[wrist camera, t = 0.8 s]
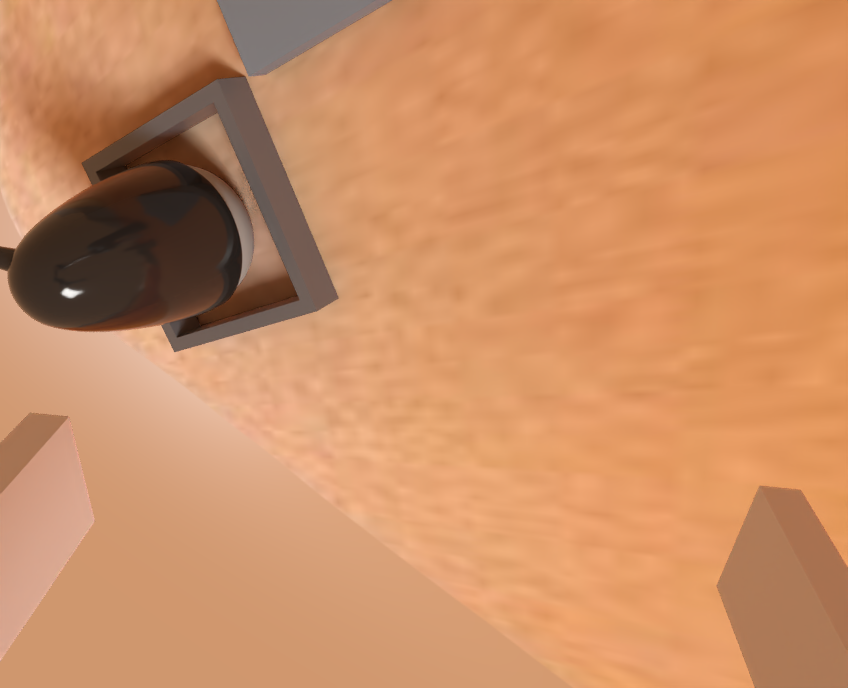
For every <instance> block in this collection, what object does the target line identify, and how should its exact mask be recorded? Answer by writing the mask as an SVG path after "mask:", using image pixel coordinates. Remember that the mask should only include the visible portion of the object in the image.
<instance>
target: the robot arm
mask: <svg viewBox="0 0 848 688" xmlns="http://www.w3.org/2000/svg"><path fill="white" fill-rule="evenodd" d="M94 521H95V520H94V516H93V512H92V508H91V504H90V499H89V496H88V491H87V488H86V484H85V479H84V475H83V471H82V467H81V463H80V459H79V455H78V451H77V446H76V442H75V438H74V434H73V430H72V426H71V422H70V418H69V417H68V416H58V415H47V414H38V413H29V414H28V415H27V416H26V417H25V418H24V419H23V420H22V421H21V422H20V423H19V424H18V426H17V427H16V428H15V429H14V430H13V431H12V432H11V433H10V434H9V435H8V436H7V437H6V438H5V439H4V440H3V441H2V442H1V443H0V661H1V659H2V658H3V656H4V655H5V653H6V652H7V650H8V649H9V647H10V646H11V644H12V643H13V641H14V640H15V638H16V637H17V636H18V634H19V633H20V631H21V630H22V628H23V627H24V625H25V624H26V622H27V621H28V619H29V618H30V616H31V615H32V613H33V612H34V610H35V609H36V607H37V606H38V605H39V603H40V601H41V600H42V598H43V597H44V596H45V594H46V593H47V591H48V590H49V588H50V587H51V585H52V584H53V582H54V581H55V579H56V578H57V576H58V575H59V573H60V572H61V570H62V569H63V568H64V566H65V565H66V563H67V562H68V560H69V559H70V557H71V556H72V554H73V553H74V551H75V550H76V548H77V547H78V545H79V544H80V542H81V541H82V539H83V538H84V536H85V535H86V533H87V532H88V531H89V529H90V527H91V526H92V525H93V523H94ZM717 588H718V591H719V593H720V596H721V599H722V601H723V604H724V607H725V609H726V612H727V615H728V617H729V620H730V623H731V625H732V628H733V631H734V633H735V636H736V639H737V641H738V644H739V647H740V649H741V652H742V654H743V657H744V660H745V662H746V665H747V668H748V670H749V673H750V676H751V678H752V681H753V684H754V686H755V688H848V567H847V566H846V564H845V562H844V561H843V559H842V557H841V556H840V554H839V552H838V551H837V549H836V547H835V546H834V544H833V542H832V541H831V539H830V537H829V536H828V534H827V532H826V531H825V529H824V527H823V526H822V524H821V522H820V521H819V519H818V517H817V516H816V514H815V512H814V511H813V509H812V507H811V506H810V504H809V503H808V501H807V499H806V498H805V496H804V494H803V493H802V491H801V490H797V489H787V488H777V487H767V486H759V488H758V490H757V493H756V495H755V497H754V500H753V502H752V504H751V507H750V509H749V511H748V514H747V516H746V518H745V521H744V523H743V525H742V528H741V530H740V532H739V535H738V537H737V539H736V542H735V544H734V546H733V549H732V551H731V553H730V556H729V558H728V560H727V563H726V565H725V567H724V570H723V572H722V574H721V577H720V579H719V581H718V584H717Z"/></svg>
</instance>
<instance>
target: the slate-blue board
mask: <svg viewBox="0 0 848 688" xmlns="http://www.w3.org/2000/svg"><path fill="white" fill-rule="evenodd" d="M390 1H392V0H217V2H218V4H219V7H220V9H221V11H222V14H223V16H224V18H225V21H226V23H227V26H228V28H229V30H230V33H231V35H232V37H233V40H234V42H235V45H236V47H237V49H238V52H239V54H240V57H241V59H242V61H243V64H244V66H245V68H246V71H247V73H248V76H258V75H266V74H267V73H269V72H271V71H273V70H274V69H276V68H278V67H279V66H281V65H283V64H284V63H286V62H288V61H290V60H291V59H293V58H295V57H296V56H298V55H300V54H301V53H303V52H305V51H307V50H308V49H310V48H312V47H313V46H315V45H317V44H318V43H320V42H322V41H324V40H325V39H327V38H329V37H330V36H332V35H334V34H335V33H337V32H339V31H341V30H342V29H344V28H346V27H347V26H349V25H351V24H352V23H354V22H356V21H358V20H359V19H361V18H363V17H364V16H366V15H368V14H369V13H371V12H373V11H375V10H376V9H378V8H380V7H381V6H383V5H385V4H386V3H388V2H390Z"/></svg>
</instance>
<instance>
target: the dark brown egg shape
mask: <svg viewBox="0 0 848 688" xmlns="http://www.w3.org/2000/svg"><path fill="white" fill-rule="evenodd" d="M253 252H254V234H253V228H252V224H251V220H250V217H249V215H248V212H247V210H246V208H245V206H244V204H243V203H242V201H241V200H240V198H239V197H238V195H237V194H236V193H235V192H234V190H233V189H232V188H231V187H230V186H229V185H228V184H226V183H225V182H224V181H223V180H222V179H220V178H219V177H217V176H216V175H214V174H212V173H210V172H208V171H206V170H203V169H201V168H198V167H194V166H190V165H185V164H183V163H180V162H177V161H172V160H157V161H152V162H148V163H144V164H141V165H137V166H135V167H132V168H129V169H127V170H124V171H122V172H120V173H117V174H115V175H113V176H111V177H108V178H106V179H104V180H102V181H100V182H98V183H96V184H94V185H92V186H90V187H89V188H87V189H85V190H83V191H82V192H80V193H78V194H77V195H75V196H74V197H72V198H70V199H69V200H67V201H66V202H64V203H63V204H62V205H60V206H59V207H57V208H56V209H54V210H53V211H52V212H50V213H49V214H48V215H47V216H45V217H44V218H43V219H42V220H41V221H39V222H38V223H37V224H36V225H35V226H34V227H33V228H32V229H31V230H30V231H29V232H28V233H27V234H26V235H25V237H24V238H23V239H22V241H21V242H20V243H19V245H18V246H17V248H16V249H13V248H7V247H1V246H0V269H2V270H5V271H8V283H9V287H10V291H11V293H12V296H13V298H14V299H15V301H16V303H17V304H18V305H19V307H20V308H21V309H22V310H23V311H24V312H25V313H26V314H27V315H29V316H30V317H31V318H33V319H34V320H36V321H38V322H40V323H42V324H44V325H47V326H51V327H54V328H59V329H64V330H71V331H81V332H109V331H121V330H131V329H139V328H146V327H153V326H158V325H163V324H168V323H172V322H176V321H180V320H184V319H187V318H191V317H194V316H197V315H201V314H203V313H206V312H208V311H211V310H213V309H215V308H217V307H219V306H221V305H222V304H224V303H225V302H226V301H227V300H228V299H229V298H230V297H231V296H232V295H233V293H234V291H235V290H236V288H237V286H238V285H239V284H240V283H241V282H242V280H243V279H244V277H245V275H246V274H247V272H248V270H249V267H250V264H251V261H252V257H253Z"/></svg>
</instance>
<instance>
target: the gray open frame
mask: <svg viewBox="0 0 848 688" xmlns="http://www.w3.org/2000/svg"><path fill="white" fill-rule="evenodd" d="M217 112H218V114H219V116H220V118H221V121H222V123H223V125H224V128H225V130H226V132H227V134H228V137H229V139H230V141H231V144H232V146H233V148H234V151H235V153H236V155H237V157H238V160H239V162H240V164H241V167H242V169H243V171H244V173H245V176H246V178H247V180H248V183H249V185H250V187H251V190H252V192H253V194H254V196H255V199H256V201H257V203H258V206H259V208H260V210H261V213H262V215H263V217H264V219H265V222H266V224H267V226H268V229H269V231H270V233H271V235H272V238H273V240H274V242H275V245H276V247H277V249H278V252H279V254H280V256H281V258H282V261H283V263H284V265H285V268H286V270H287V272H288V274H289V277H290V279H291V281H292V284H293V286H294V288H295V291H296V293H297V295H298V296H295V297H291V298H288V299H285V300H282V301H279V302H275V303H272V304H269V305H266V306H263V307H260V308H256V309H253V310H250V311H247V312H244V313H240V314H237V315H234V316H231V317H228V318H224V319H221V320H218V321H215V322H212V323H208V324H205V325H202V326H200V324H199V321H198V319H197V317H196V316H194V317H191V318H187V319H184V320H180V321H176V322H172V323H168V324H163V325H161V326H162V328H163V330H164V332H165V334H166V336H167V338H168V340H169V342H170V344H171V346H172V348H173V350H174V352H177V351H180V350H184V349H187V348H191V347H194V346H198V345H201V344H205V343H208V342H212V341H215V340H219V339H222V338H225V337H229V336H232V335H236V334H239V333H243V332H246V331H250V330H253V329H257V328H260V327H264V326H267V325H270V324H274V323H277V322H281V321H284V320H288V319H291V318H295V317H298V316H302V315H305V314H309V313H312V312H315V311H318V310H320V309H321V308H323V307H325V306H326V305H328V304H330V303H331V302H333V301H335V300H337V299H338V296H337V293H336V291H335V289H334V286H333V284H332V281H331V279H330V277H329V274H328V272H327V270H326V267H325V265H324V262H323V260H322V258H321V255H320V253H319V251H318V248H317V246H316V243H315V241H314V239H313V236H312V234H311V232H310V229H309V227H308V224H307V222H306V220H305V217H304V215H303V213H302V210H301V208H300V205H299V203H298V201H297V198H296V196H295V194H294V191H293V189H292V186H291V184H290V182H289V179H288V177H287V175H286V172H285V170H284V167H283V165H282V163H281V160H280V158H279V156H278V153H277V151H276V148H275V146H274V144H273V141H272V139H271V137H270V134H269V132H268V129H267V127H266V125H265V122H264V120H263V118H262V115H261V113H260V110H259V108H258V106H257V103H256V101H255V99H254V96H253V94H252V91H251V89H250V87H249V84H248V82H247V80H246V77H236V78H225V79H217V80H215V81H213V82H212V83H210V84H209V85H207V86H205V87H204V88H202V89H201V90H199V91H197V92H196V93H194V94H192V95H191V96H189V97H188V98H186V99H184V100H183V101H181V102H180V103H178V104H176V105H175V106H173V107H171V108H170V109H168V110H167V111H165V112H163V113H162V114H160V115H158V116H157V117H155V118H154V119H152V120H150V121H149V122H147V123H146V124H144V125H142V126H141V127H139V128H137V129H136V130H134V131H133V132H131V133H129V134H128V135H126V136H125V137H123V138H121V139H120V140H118V141H116V142H115V143H113V144H112V145H110V146H108V147H107V148H105V149H104V150H102V151H100V152H99V153H97V154H95V155H94V156H92V157H91V158H89V159H87V160H86V161H84V162H82V165H83V167H84V169H85V171H86V173H87V175H88V177H89V179H90V181H91V183H92V185H94V184H96V183H98V182H100V181H102V180H104V179H106V178H108V177H111V176H113V175H115V174H117V173H120V172H122V171H124V170H126V168H125V165H127V164H129V163H130V162H132V161H134V160H136V159H137V158H139V157H141V156H143V155H144V154H146V153H148V152H150V151H151V150H153V149H155V148H157V147H158V146H160V145H162V144H163V143H165V142H167V141H169V140H170V139H172V138H174V137H176V136H177V135H179V134H181V133H183V132H184V131H186V130H188V129H189V128H191V127H193V126H195V125H196V124H198V123H200V122H202V121H203V120H205V119H207V118H209V117H210V116H212V115H214V114H216V113H217Z"/></svg>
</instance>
